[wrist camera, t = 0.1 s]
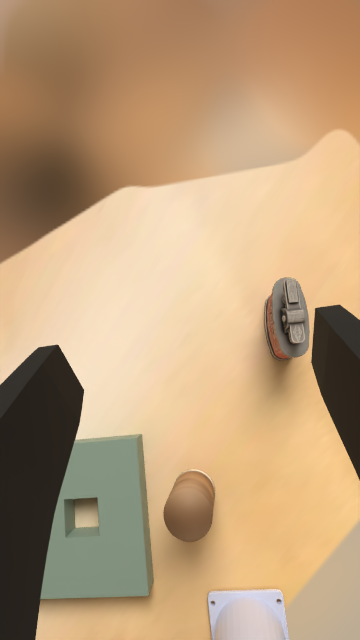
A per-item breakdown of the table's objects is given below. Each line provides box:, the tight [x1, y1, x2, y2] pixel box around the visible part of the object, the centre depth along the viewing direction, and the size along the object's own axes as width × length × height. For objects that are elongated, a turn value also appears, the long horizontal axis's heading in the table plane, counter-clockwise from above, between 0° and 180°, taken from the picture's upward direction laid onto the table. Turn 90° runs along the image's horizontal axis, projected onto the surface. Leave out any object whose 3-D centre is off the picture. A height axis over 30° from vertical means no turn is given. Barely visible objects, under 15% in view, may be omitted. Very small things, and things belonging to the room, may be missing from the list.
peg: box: [164, 469, 215, 542], centre depth 35 cm, size 4×4×9 cm
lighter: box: [264, 278, 309, 360], centre depth 36 cm, size 8×3×10 cm, turn 5°
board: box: [40, 434, 153, 599], centre depth 39 cm, size 16×18×2 cm
